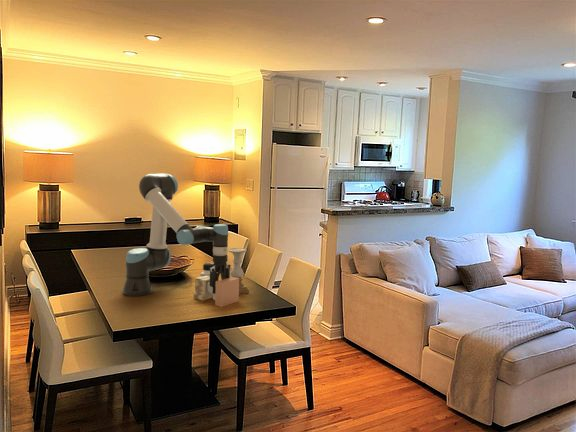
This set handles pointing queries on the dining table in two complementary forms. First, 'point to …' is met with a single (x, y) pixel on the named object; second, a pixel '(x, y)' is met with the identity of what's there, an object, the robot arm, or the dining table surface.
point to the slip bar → (209, 287)
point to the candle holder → (238, 268)
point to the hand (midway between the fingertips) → (219, 298)
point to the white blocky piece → (202, 288)
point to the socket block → (227, 291)
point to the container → (206, 269)
